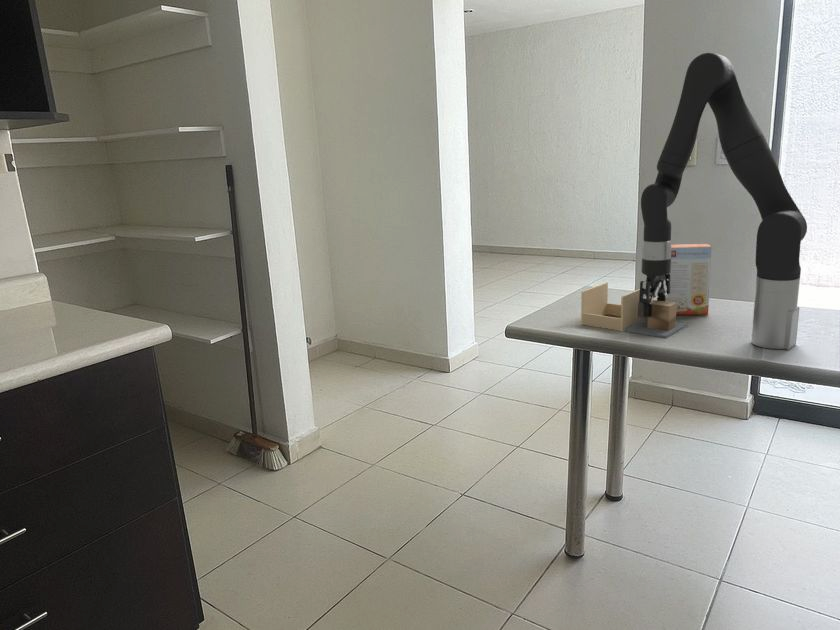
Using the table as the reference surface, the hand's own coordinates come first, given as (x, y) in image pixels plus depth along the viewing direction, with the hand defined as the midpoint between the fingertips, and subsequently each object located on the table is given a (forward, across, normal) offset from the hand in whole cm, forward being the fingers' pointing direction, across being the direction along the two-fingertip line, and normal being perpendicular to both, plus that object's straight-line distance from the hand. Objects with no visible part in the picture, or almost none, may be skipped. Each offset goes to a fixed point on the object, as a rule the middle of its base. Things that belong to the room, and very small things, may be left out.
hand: (654, 313), depth 171 cm
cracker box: (+5, +20, 0) cm, 21 cm away
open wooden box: (+4, 0, +12) cm, 13 cm away
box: (+4, 0, -1) cm, 4 cm away
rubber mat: (+4, 0, -1) cm, 4 cm away
